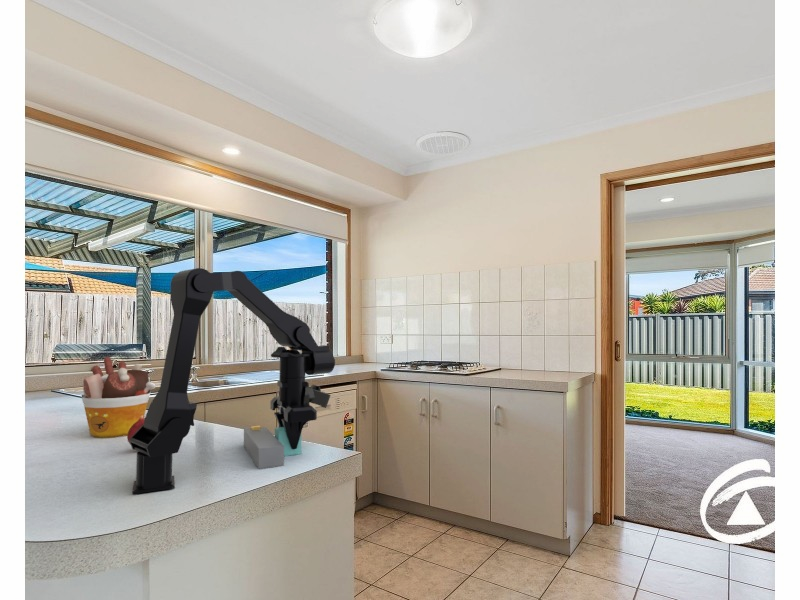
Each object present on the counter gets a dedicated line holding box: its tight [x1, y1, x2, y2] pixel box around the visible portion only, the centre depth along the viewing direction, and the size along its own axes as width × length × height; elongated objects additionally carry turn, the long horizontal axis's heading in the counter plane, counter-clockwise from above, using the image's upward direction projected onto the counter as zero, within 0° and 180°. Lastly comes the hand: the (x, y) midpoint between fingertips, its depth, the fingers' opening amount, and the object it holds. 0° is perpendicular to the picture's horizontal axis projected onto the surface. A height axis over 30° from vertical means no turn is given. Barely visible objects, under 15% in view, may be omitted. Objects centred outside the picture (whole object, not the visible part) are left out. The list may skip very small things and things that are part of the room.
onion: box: [126, 415, 146, 446], centre depth 108 cm, size 6×6×8 cm
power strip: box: [243, 425, 285, 470], centre depth 106 cm, size 24×5×5 cm, turn 27°
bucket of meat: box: [81, 356, 157, 439], centre depth 127 cm, size 20×16×20 cm
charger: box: [274, 426, 302, 457], centre depth 105 cm, size 4×7×6 cm, turn 117°
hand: (291, 446), depth 106 cm, fingers closed on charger, 4 cm apart
